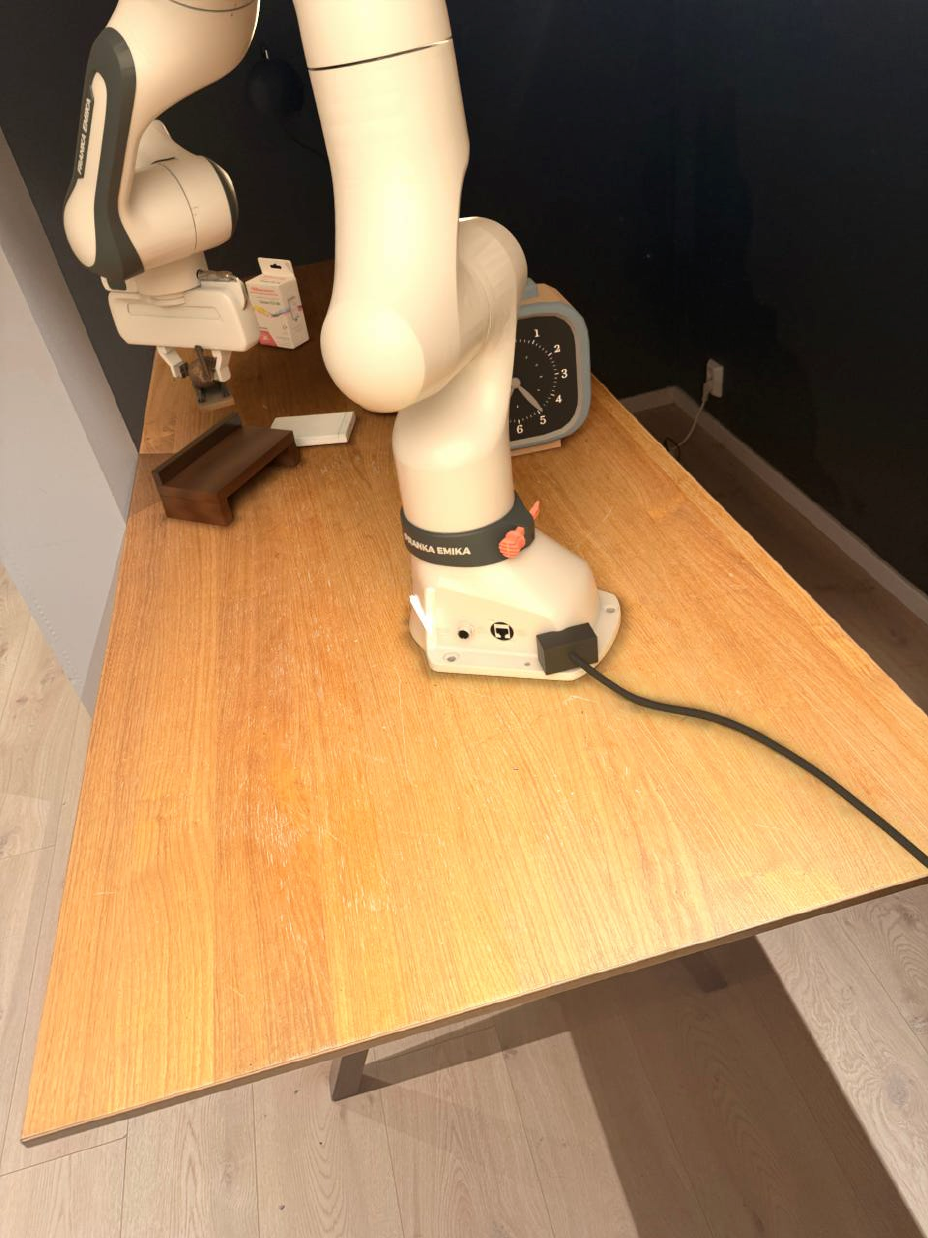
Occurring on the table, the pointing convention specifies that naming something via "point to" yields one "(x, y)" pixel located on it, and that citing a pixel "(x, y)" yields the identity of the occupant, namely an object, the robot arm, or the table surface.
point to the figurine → (208, 384)
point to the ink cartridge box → (277, 305)
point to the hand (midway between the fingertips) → (202, 378)
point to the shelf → (219, 468)
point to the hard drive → (318, 428)
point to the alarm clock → (548, 371)
